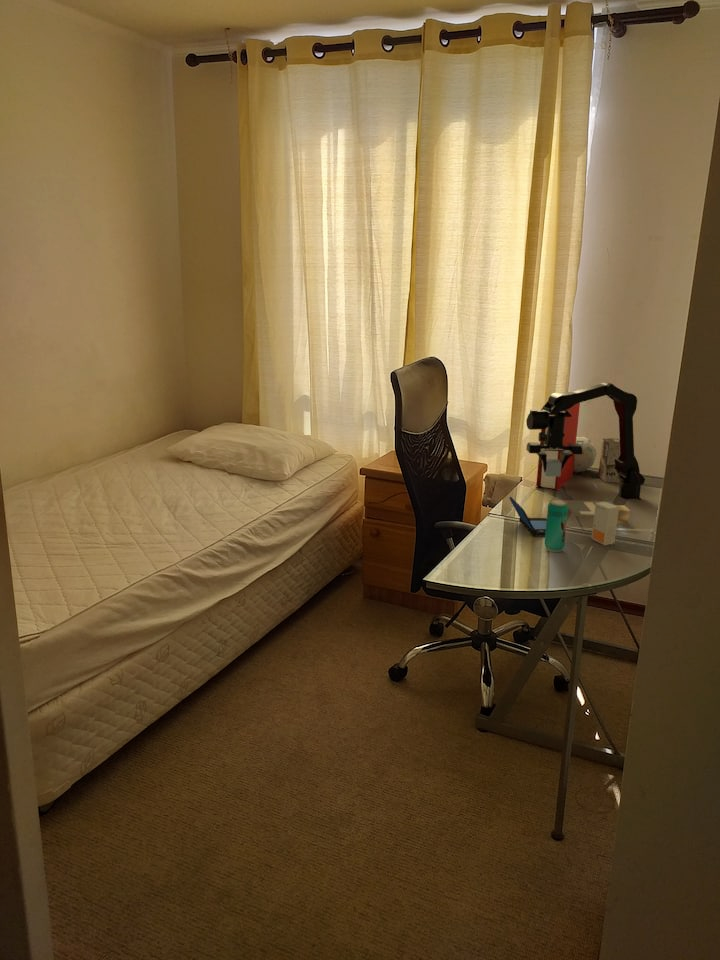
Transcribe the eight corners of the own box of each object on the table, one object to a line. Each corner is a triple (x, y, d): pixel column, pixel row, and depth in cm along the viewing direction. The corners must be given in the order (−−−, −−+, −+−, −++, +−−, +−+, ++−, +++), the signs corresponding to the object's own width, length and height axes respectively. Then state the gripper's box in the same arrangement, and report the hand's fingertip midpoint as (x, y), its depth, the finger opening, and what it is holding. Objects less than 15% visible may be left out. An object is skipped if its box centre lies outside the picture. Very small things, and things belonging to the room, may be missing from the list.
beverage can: (560, 554, 219) (565, 506, 215) (541, 550, 222) (545, 502, 217) (566, 548, 223) (571, 501, 219) (547, 544, 226) (552, 497, 222)
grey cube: (557, 472, 270) (558, 459, 269) (560, 476, 265) (561, 462, 264) (543, 472, 270) (544, 459, 269) (546, 476, 265) (547, 462, 264)
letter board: (610, 502, 269) (611, 501, 269) (627, 518, 252) (627, 517, 252) (561, 501, 269) (561, 499, 269) (573, 517, 252) (574, 515, 252)
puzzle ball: (600, 475, 306) (604, 439, 302) (566, 476, 303) (570, 440, 299) (583, 466, 320) (586, 432, 316) (550, 467, 317) (553, 432, 313)
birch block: (622, 521, 250) (624, 505, 248) (627, 526, 245) (629, 510, 243) (606, 520, 250) (607, 505, 248) (611, 526, 245) (613, 510, 243)
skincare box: (590, 539, 232) (594, 502, 229) (601, 537, 233) (605, 501, 230) (604, 545, 226) (608, 508, 223) (615, 544, 228) (619, 506, 225)
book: (556, 490, 283) (564, 407, 274) (536, 487, 286) (543, 405, 278) (573, 474, 306) (581, 397, 297) (554, 471, 310) (561, 395, 301)
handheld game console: (561, 537, 234) (564, 509, 231) (520, 538, 232) (522, 509, 230) (545, 521, 249) (548, 494, 246) (506, 521, 247) (508, 495, 245)
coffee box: (620, 482, 295) (625, 443, 291) (604, 482, 296) (608, 442, 291) (613, 476, 304) (617, 438, 300) (597, 476, 304) (601, 437, 300)
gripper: (576, 425, 271) (572, 466, 275) (525, 424, 271) (521, 465, 275) (584, 431, 260) (580, 474, 264) (531, 430, 260) (527, 473, 265)
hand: (552, 471), depth 267 cm, fingers closed on grey cube, 5 cm apart
